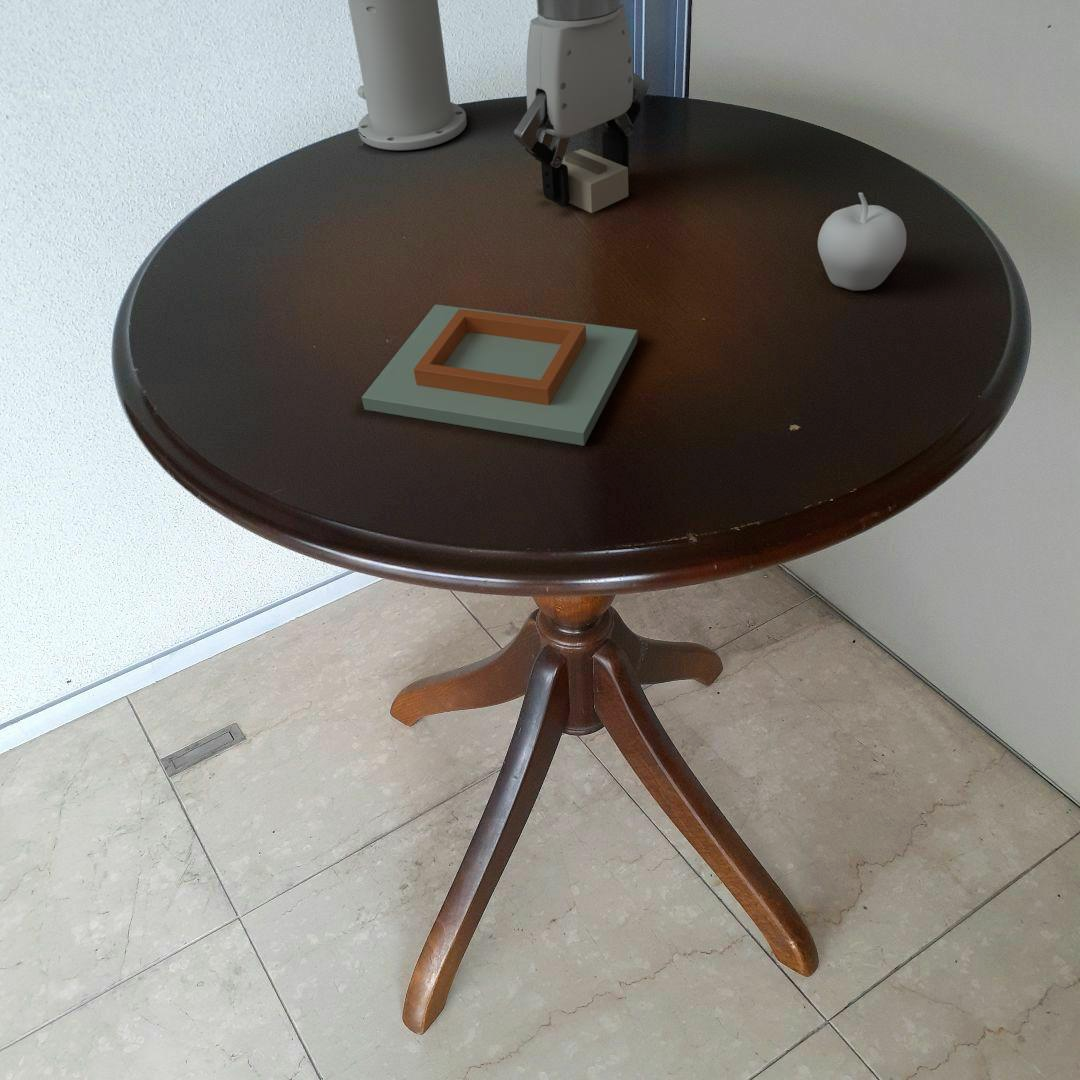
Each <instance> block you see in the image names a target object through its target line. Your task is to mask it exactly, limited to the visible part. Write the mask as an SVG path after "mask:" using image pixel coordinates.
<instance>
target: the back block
mask: <svg viewBox="0 0 1080 1080" xmlns="http://www.w3.org/2000/svg"><path fill="white" fill-rule="evenodd" d="M562 164H565V165H567V167H568V181H569V198H570V201H569V203H568V204H570V205H572V206H575V207H577V208H579V209H581V210H583V211H586V212H588V213H590V214H594V213H596V212H599V211H600V210H602V209H604V208H607V207H609V206H611V205H613V204H615V203H617V202H619V201H621V200H625V199H626V198H627V197H629V176H628V167H625V166H623V165H620V164H618V163H615V162H613V161H610V160H608V159H605V158H603V156H601V155H597V154H595V153H593V152H590V151H587V150H585V149H582V148H579V149H577V150H574V151H571V152H569V153H567V154H566V153H565V155H564V158H563V161H562Z"/></svg>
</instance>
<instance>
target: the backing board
mask: <svg viewBox="0 0 1080 1080" xmlns="http://www.w3.org/2000/svg"><path fill="white" fill-rule="evenodd" d="M637 344H638V329H630V328H625V327H616V326H607V325H600V324H593V323H584V322H578V321H577V322H576V321H569V320H562V319H553V318H545V317H539V316H538V317H537V316H531V315H522V314H515V313H507V312H499V311H498V312H497V311H490V310H483V309H477V308H476V309H475V308H467V307H459V306H451V305H444V304H434V306H433V307H432V308H431V309H430V311H429V312H428V313H427V314H426V315H425V317H424V318H423V319H422V321H421V322H420V323H419V325H418V326H417V327H415V329H414V330H413V331H412V333H411V335H410V336H409V337H408V338H407V340H406V341H405V342H404V343H403V345H402V346H401V347H400V348H399V349H398V351H397V352H396V353H395V354H394V356H393V357H392V358H391V360H390V361H389V362H388V363H387V365H386V366H385V367H384V368H383V370H382V371H381V372H380V373H379V375H378V376H377V377H376V378H375V379H374V381H373V382H372V383H371V385H369V387H368V388H367V390H365V392H364V393H363V395H362V396H361V401H362V406H363V409H364V410H365V411H370V412H376V413H382V414H389V415H394V416H401V417H407V418H413V419H419V420H425V421H430V422H431V421H432V422H436V423H442V424H443V423H444V424H449V425H455V426H456V425H457V426H462V427H466V428H474V429H479V430H480V429H481V430H485V431H486V430H487V431H492V432H497V433H503V434H509V435H516V436H522V437H528V438H535V439H539V440H547V441H553V442H557V443H565V444H571V445H577V446H581V447H582V446H585V445H586V443H587V441H588V440H589V437H590V436H591V434H592V433H593V430H594V428H595V426H596V424H597V422H598V420H599V418H600V416H601V414H602V412H603V410H604V408H605V406H606V405H607V402H608V401H609V398H610V397H611V395H612V393H613V391H614V389H615V387H616V385H617V384H618V381H619V380H620V377H621V376H622V373H623V372H624V369H625V367H626V366H627V363H628V362H629V359H630V358H631V356H632V354H633V352H634V350H635V349H636V345H637Z"/></svg>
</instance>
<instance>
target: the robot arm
mask: <svg viewBox="0 0 1080 1080" xmlns="http://www.w3.org/2000/svg"><path fill="white" fill-rule="evenodd" d="M347 4H348V8H349V14H350V18H351V26H352V31H353V35H354V40H355V46H356V52H357V57H358V62H359V68H360V74H361V79H362V84H363V85H360V86H359V87H358V88H357V95H358V97H360V99H363V100H365V103H366V108H367V113H366V115H364V116H363V117H362V118H361V119H360V121H359V122H358V124H357V131H358V137H359V138H360V140H361V142H363V143H364V144H366V145H367V146H370V147H371V148H375V149H379V150H385V151H414V150H420V149H421V150H422V149H428V148H430V147H435V146H438V145H441V144H444V143H446V142H449V141H450V140H453V139H454V138H456V137H458V136H459V135H460V134H461V133H462V132H463V131H464V130H465V129H466V127H467V126H468V125H467V122H468V120H467V113H466V111H465V110H464V108H463V107H461V106H460V105H458V104H457V103H454V102H452V101H451V93H450V85H449V79H448V70H447V63H446V54H445V47H444V40H443V31H442V24H441V17H440V9H439V8H440V7H439V1H438V0H347ZM536 13H537V14H536V15H537V16H536V17H534V18H532V19H530V23H529V29H528V37H527V47H526V48H527V49H526V67H525V69H526V70H525V71H526V72H525V73H526V75H525V77H526V80H525V81H526V84H525V86H526V109H527V110H526V112H525V114H523V117H522V118H521V120H520V121H519V123H518V124H517V126H516V127H515V129H514V131H513V137H514V138H515V139H516V141H518V143H519V144H520V145H521V146H522V147H523V148H524V149H525V151H526V152H527V153H528V154H530V155H531V156H532V157H534V159H535V160H536V161H537V162H540V166H541V179H542V190H543V196H544V197H545V199H547V200H549V201H551V202H553V203H556V204H558V205H560V206H562V207H565V206H567V205H568V204H570V203H569V201H570V198H569V181H568V167H567V165H565V164H562V161H563V158H564V156H565V155H566V152H567V148H568V145H569V142H570V139H571V138H572V137H574V136H576V135H579V134H581V133H584V132H586V131H589V130H591V129H593V128H596V127H598V126H600V125H603V124H604V126H605V128H606V129H607V130H604V131H602V136H601V141H602V142H601V143H602V147H601V148H602V157H603V158H605V159H608V160H610V161H613V162H615V163H618V164H620V165H623V166H625V167H628V177H629V176H630V171H629V170H630V165H629V164H630V163H629V161H630V160H629V159H630V158H629V157H630V156H629V154H630V153H629V138H630V137H631V136H632V135H633V134H634V131H635V127H634V123H635V121H636V120H637V118H638V116H639V115H640V113H641V108H642V107H641V105H642V104H643V102H644V100H645V97H646V95H647V92H649V91H648V90H649V88H650V85H649V83H648V81H646V80H645V79H643V78H642V77H641V76H640V75H638V74H637V73H635V72H634V69H633V68H634V66H633V52H632V44H631V36H630V29H629V25H628V24H629V23H628V18H627V14H626V9H625V5H623V3H621V0H536ZM538 129H539V130H540V129H541V132H540V135H539V137H538V136H537V130H538ZM359 132H360V133H361V134H362V135H363V136H365V137H366V138H365V137H363V136H362V135H361V134H360V133H359ZM554 138H555V141H554V144H553V148H552V149H551V147H552V143H553V139H554Z"/></svg>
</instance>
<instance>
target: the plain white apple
mask: <svg viewBox="0 0 1080 1080" xmlns="http://www.w3.org/2000/svg"><path fill="white" fill-rule="evenodd" d="M857 194H858V197H859V200H860V203H861V204H853V205H850V206H847V207H843V208H840V209H838V210H835V211H833V212H832V213H831V214H830V215H829V216H828V217H827V218H826V219H825V220H824V222H823V224H822V225H821V228H820V230H819V233H818V237H817V242H816V243H817V250H818V254H819V257H820V260H821V262H822V264H823V268H824V270H825V272H826V275H827V278H828V279H829V281H830V283H832V285H834V286H836V287H838V288H842V289H846V290H848V291H851V292H858V291H859V292H860V291H869V290H874V289H876V288H877V287H879V286H880V285H881V284H882V283H884V282H885V281H886V279H887V278H888V277H889V275H890V274H891V272H893V270H894V268H895V267H896V266H897V265H898V264H899V262H900V261H901V259H902V257H903V255H904V253H905V250H906V248H907V230H906V226H905V223H904V221H903V220H902V218H901V217H900V216H899V215H898V214H896V213H895V212H893V211H891V210H890V209H888V208H886V207H884V206H882V205H876V204H875V205H874V204H868V201H867V199H866V197H865V195H864V193H863V192H858V193H857Z"/></svg>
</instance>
